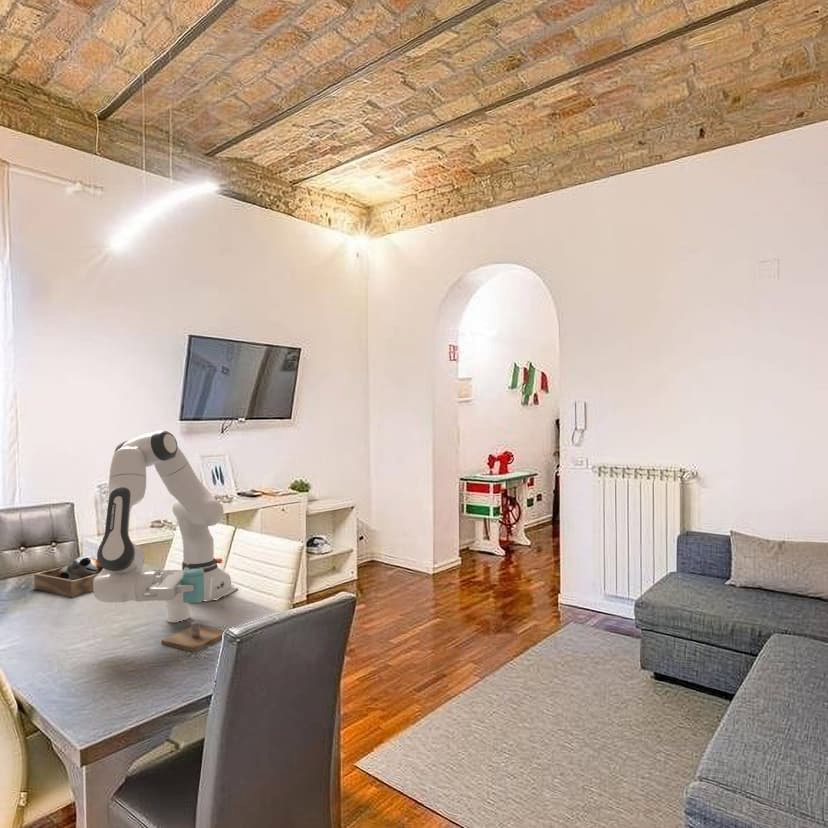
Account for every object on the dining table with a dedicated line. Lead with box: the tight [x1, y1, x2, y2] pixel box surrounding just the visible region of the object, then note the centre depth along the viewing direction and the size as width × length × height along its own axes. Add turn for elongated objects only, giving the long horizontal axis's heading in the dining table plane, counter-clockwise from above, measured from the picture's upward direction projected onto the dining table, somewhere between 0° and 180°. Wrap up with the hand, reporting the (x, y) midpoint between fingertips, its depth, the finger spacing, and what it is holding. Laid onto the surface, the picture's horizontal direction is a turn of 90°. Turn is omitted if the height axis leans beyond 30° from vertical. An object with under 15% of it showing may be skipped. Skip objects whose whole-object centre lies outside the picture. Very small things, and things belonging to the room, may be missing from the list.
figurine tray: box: [33, 564, 103, 598], centre depth 245 cm, size 22×25×6 cm
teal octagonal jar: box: [183, 569, 204, 604], centre depth 185 cm, size 6×6×9 cm
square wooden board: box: [160, 621, 225, 653], centre depth 185 cm, size 14×14×5 cm
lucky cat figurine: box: [55, 555, 101, 580], centre depth 248 cm, size 15×12×14 cm
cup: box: [164, 593, 191, 623], centre depth 204 cm, size 11×11×15 cm
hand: (196, 583), depth 185 cm, fingers closed on teal octagonal jar, 6 cm apart
